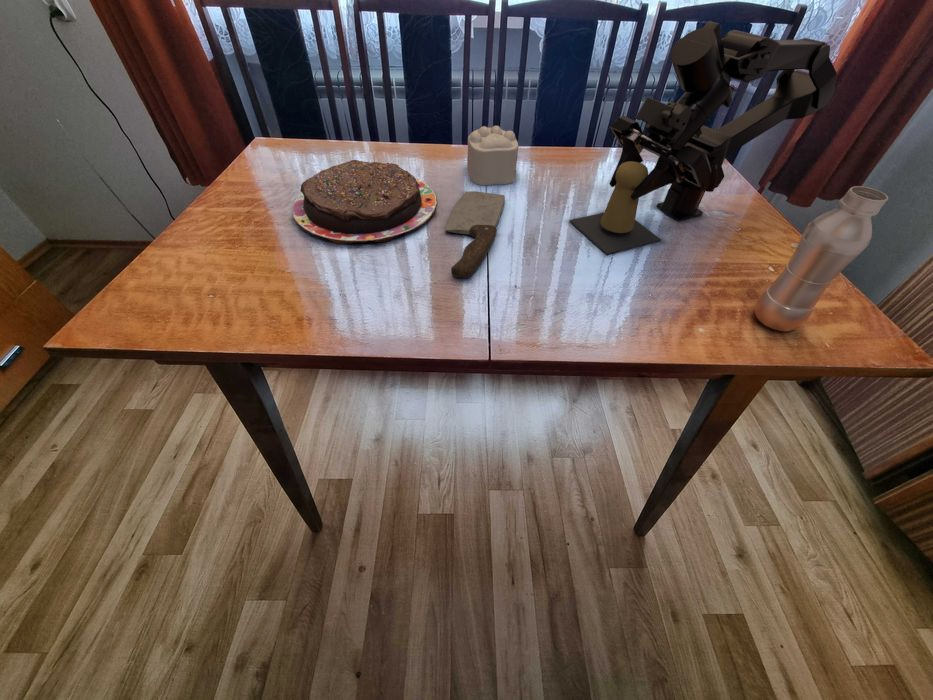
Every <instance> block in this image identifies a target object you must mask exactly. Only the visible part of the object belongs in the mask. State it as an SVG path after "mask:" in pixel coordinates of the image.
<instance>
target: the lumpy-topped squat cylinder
mask: <svg viewBox="0 0 933 700" xmlns="http://www.w3.org/2000/svg"><path fill="white" fill-rule="evenodd" d="M518 155H519V141H518V140H517V137H516V134H515V132H514V131H512V130H507V131H506V130H503V129H502V128H501V127H500V126H499V125H493V126H491V127H488V126H486V125H483V126H481V127H480V128H478V129H476V130H473V131H472V132H471V133H470V134H469V135H468V137H467V161H466V162H467V163H466V164H467V166H466V167H467V169H466V170H467V175H468V177H469V179H470V180H471V181H472V182H473V183H474V184H476V185H479V186H491V185H509V184H512V183H514V182H515V180H516V173H517V164H518Z"/></svg>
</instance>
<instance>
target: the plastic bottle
mask: <svg viewBox="0 0 933 700" xmlns="http://www.w3.org/2000/svg"><path fill="white" fill-rule="evenodd" d="M888 200H889V196H888V194H886V193H884V192H882V191H881V190H878V189H875V188H872V187H868V186H862V185H861V186H860V185H858V186H857V185H854V186H852V187H850V188H849V189H848V191H846V193H845V194H844V196H843V197H841V198H840V200H839V201H838V207H835V208H833V209H830V210H828V211H826V212H823V213H822V214H820V215H818V216H816V217H814V219H812V220H811V221H810V222H809V223H807V225H806V227H805V229H804V231H803V233H802V235H801V237H800V239H799V242H798V244H797V246H796V248H795V250H794V252H793V253H792V255H791V257H790V258H789V259H788V262H787V263H786V265H785V267H784V268H783V270H782V271H781V272H780V274H779V275H778V276H777V277H776V279H775V280H774V281H773V282H772V283H771V285H770V286H768V287H767V288H766V289H765V290H764V291H763V292H762V293H761V294H760V296H759V297H758V298H757V300H756V303H755V305H754V308H753V309H754V316H755V317H756V319H757V320H758V321H759V323H761V324H762V325H764V326H765V327H768V328H770V329H772V330H775V331H779V332H790V331H793V330H797V329H800V328H801V327H802V326H803V325H804V324H806V323H807V322H808V321H809V320H810V318H811V316H812V314H813V312H814V310H815V308H816V305H817V304H818V302H819V300H820V299H821V298H822V296H823V294H824V293H825V291H826V290H827V289H828V287H829V286H830V284H831V283H832V282H833V281H834V280H835V279H836V278H837V277H838V276H839V274H840V273H841V272H842V271H843V270H844V269H845V268H846V267H848V266H849V264H851V263H852V262H853V261H854V260H855V259H856V258H857V257H858V256H859V255H860V254H861V253H863V252H864V250H865V249H866V248H867V247H868V246H869V245H870V242H871V240H872V236H873V222H872V217H875V216H877V215H878V214H879V212H880V211H881V209H882V207H883V206H884V205H885V204H886V202H888Z"/></svg>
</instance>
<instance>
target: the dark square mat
mask: <svg viewBox="0 0 933 700" xmlns="http://www.w3.org/2000/svg"><path fill="white" fill-rule="evenodd" d="M603 214H604V212H600V213H596V214H592V215H586V216H582V217H578V218H573V219H570V220H569V223H570V224H571V225H572V226H573V227H575V229H576V230H578V231H579V232H580V233H581V234H582V235H583V236H584V237H585V238H587V239H588V240H589V241H590V242H591V243H592V244H593V245H594V246H596V247H597V248H598V249H599V250H600V251H601V252H602V253H603V254H604V255H605V256H608V255H613V254H617V253H622V252H625V251H628V250H633V249H637V248H640V247H645V246H647V245H648V246H649V245H652V244H656V243H659V242H661V241H662V239H661V238H660V237H659V236H658V235H656V234H655V233H653V232H652V231H651V230H650V229H648V228H647V227H646V226H644V225H643V224H641V222H639V221H638V220H637V219H635V223H634V228H633V229H632V230H631V231H630V232H626V233H616V232H612V231H609V230H607V229H605V228H604V227H602V225H601V224H600V221H601V219H602V216H603Z"/></svg>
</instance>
